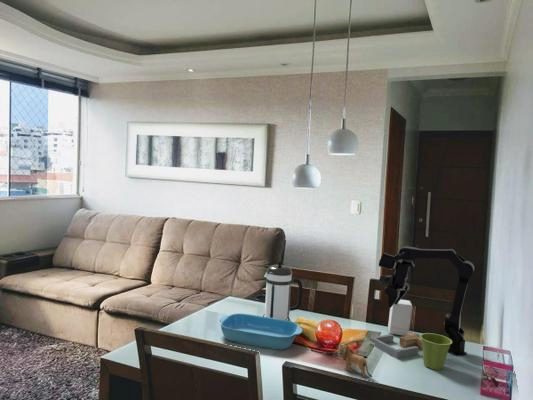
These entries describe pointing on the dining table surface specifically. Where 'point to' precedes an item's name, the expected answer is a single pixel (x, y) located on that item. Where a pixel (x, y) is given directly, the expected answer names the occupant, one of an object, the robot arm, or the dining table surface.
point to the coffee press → (280, 292)
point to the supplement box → (400, 317)
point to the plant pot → (435, 350)
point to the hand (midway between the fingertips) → (392, 305)
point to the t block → (411, 341)
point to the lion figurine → (352, 359)
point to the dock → (390, 350)
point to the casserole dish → (259, 330)
